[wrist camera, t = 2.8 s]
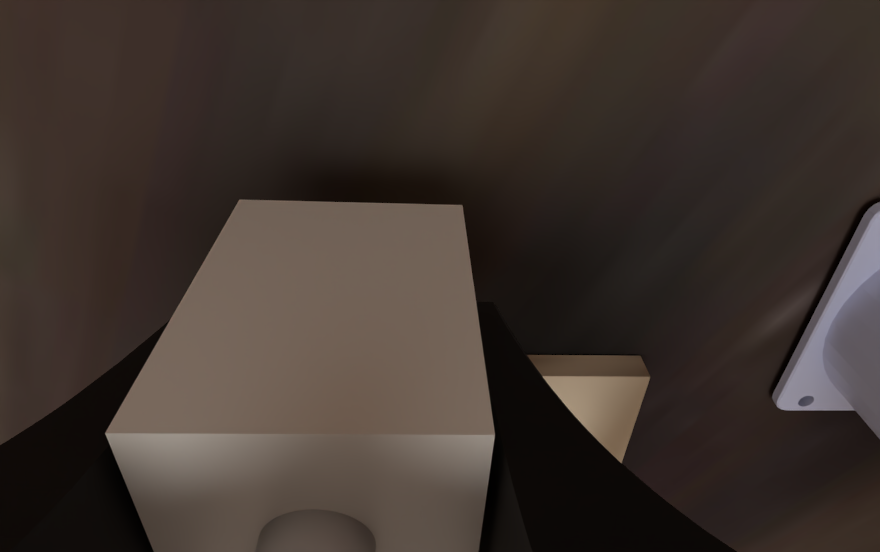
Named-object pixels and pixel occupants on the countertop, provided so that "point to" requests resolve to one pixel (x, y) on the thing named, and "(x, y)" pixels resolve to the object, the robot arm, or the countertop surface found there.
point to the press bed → (599, 392)
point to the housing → (316, 389)
